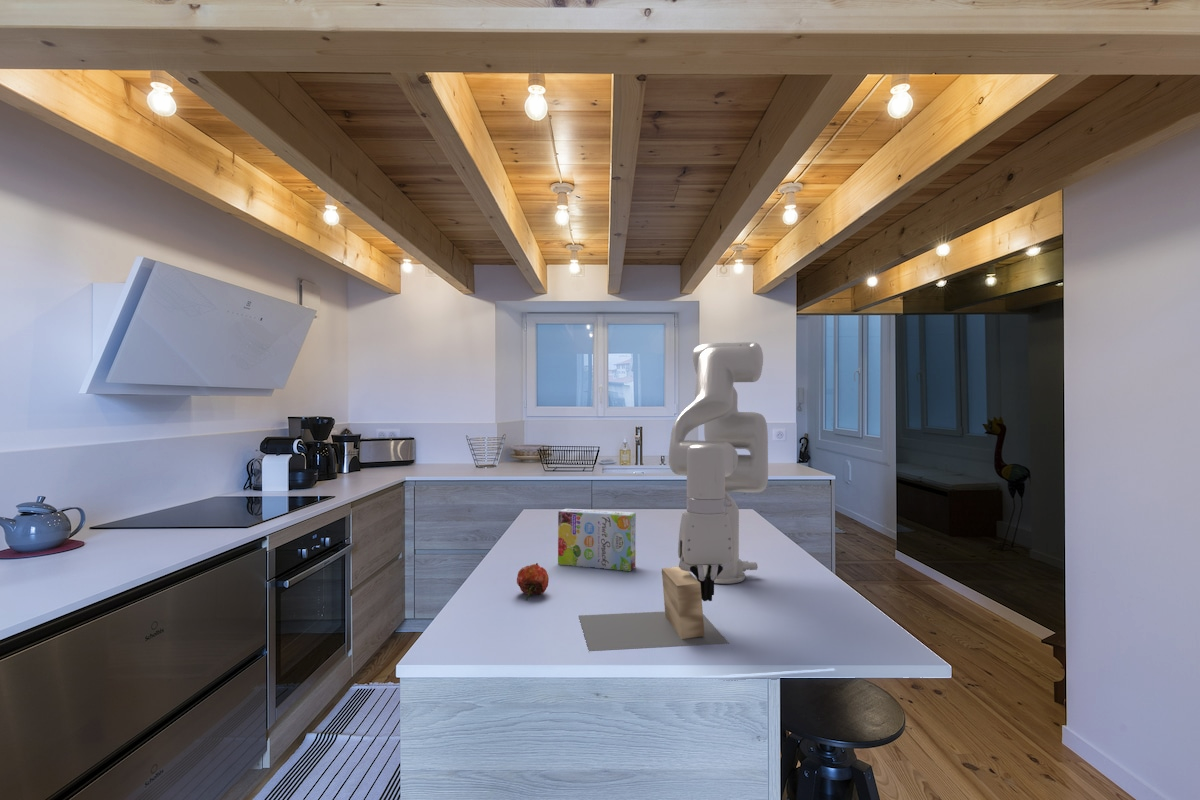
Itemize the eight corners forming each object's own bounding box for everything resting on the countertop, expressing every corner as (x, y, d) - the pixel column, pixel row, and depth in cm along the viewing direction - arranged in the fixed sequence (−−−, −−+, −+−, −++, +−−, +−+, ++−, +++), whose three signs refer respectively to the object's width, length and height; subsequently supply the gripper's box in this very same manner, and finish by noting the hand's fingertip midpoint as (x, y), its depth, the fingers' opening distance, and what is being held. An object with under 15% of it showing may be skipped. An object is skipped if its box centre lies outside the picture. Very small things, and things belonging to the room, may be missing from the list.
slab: (686, 613, 124) (682, 565, 124) (704, 635, 112) (700, 583, 112) (665, 616, 123) (661, 568, 123) (681, 639, 111) (677, 585, 111)
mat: (699, 611, 127) (699, 609, 127) (729, 645, 110) (729, 643, 110) (578, 617, 124) (578, 615, 124) (589, 653, 106) (589, 650, 106)
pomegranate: (545, 609, 135) (558, 573, 143) (534, 589, 131) (548, 553, 139) (517, 608, 138) (531, 573, 145) (505, 589, 134) (520, 553, 142)
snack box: (636, 567, 163) (636, 511, 163) (630, 572, 157) (630, 515, 158) (564, 560, 170) (564, 507, 170) (556, 565, 164) (557, 510, 165)
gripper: (734, 502, 123) (734, 591, 123) (664, 504, 121) (664, 594, 121) (749, 508, 116) (748, 603, 115) (674, 510, 113) (674, 607, 113)
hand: (705, 598), depth 118 cm, fingers closed
